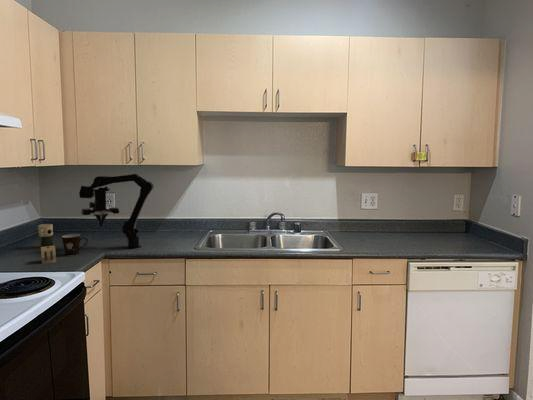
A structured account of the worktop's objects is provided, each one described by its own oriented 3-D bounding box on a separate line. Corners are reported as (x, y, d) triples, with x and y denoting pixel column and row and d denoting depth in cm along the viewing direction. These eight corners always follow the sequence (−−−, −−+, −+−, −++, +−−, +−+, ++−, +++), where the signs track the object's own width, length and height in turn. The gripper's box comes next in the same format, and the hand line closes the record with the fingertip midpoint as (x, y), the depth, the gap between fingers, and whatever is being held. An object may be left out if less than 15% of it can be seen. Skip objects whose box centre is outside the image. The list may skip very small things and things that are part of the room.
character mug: (48, 249, 213) (46, 226, 211) (35, 249, 212) (33, 226, 211) (58, 244, 224) (56, 223, 222) (45, 245, 223) (44, 223, 222)
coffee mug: (59, 255, 199) (57, 237, 198) (71, 251, 207) (70, 233, 206) (78, 257, 196) (76, 238, 195) (89, 253, 205) (88, 234, 203)
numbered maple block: (56, 262, 188) (55, 247, 187) (42, 263, 185) (41, 249, 184) (55, 259, 193) (54, 245, 192) (41, 260, 190) (40, 246, 189)
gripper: (113, 196, 223) (113, 222, 225) (79, 197, 212) (79, 225, 214) (119, 198, 214) (119, 226, 216) (83, 199, 203) (83, 228, 205)
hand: (100, 226), depth 213 cm, fingers closed
